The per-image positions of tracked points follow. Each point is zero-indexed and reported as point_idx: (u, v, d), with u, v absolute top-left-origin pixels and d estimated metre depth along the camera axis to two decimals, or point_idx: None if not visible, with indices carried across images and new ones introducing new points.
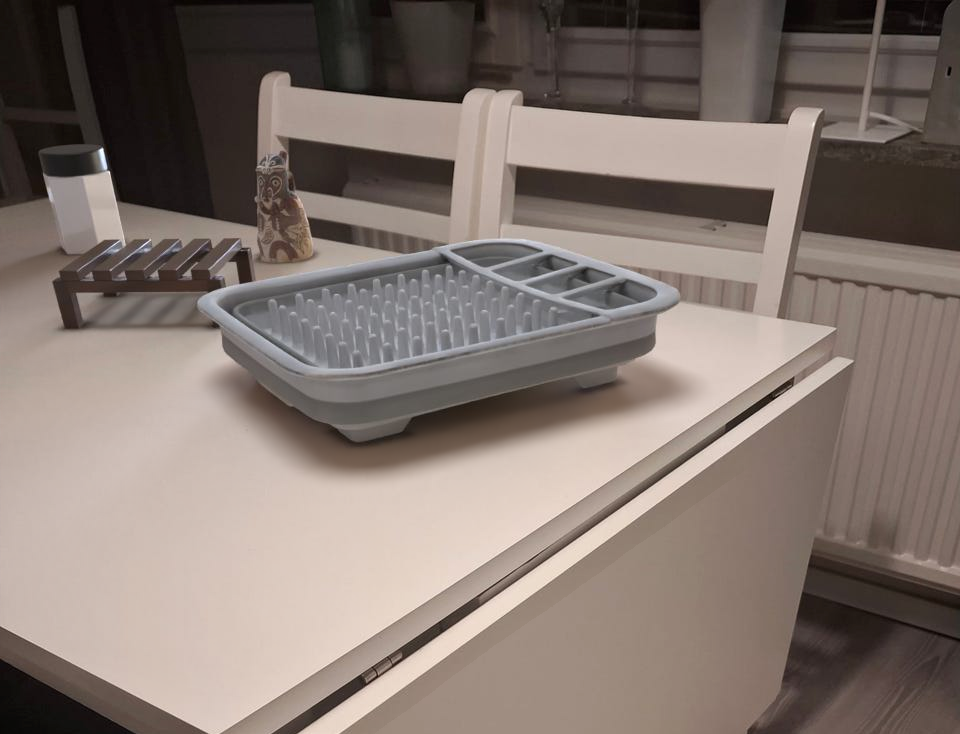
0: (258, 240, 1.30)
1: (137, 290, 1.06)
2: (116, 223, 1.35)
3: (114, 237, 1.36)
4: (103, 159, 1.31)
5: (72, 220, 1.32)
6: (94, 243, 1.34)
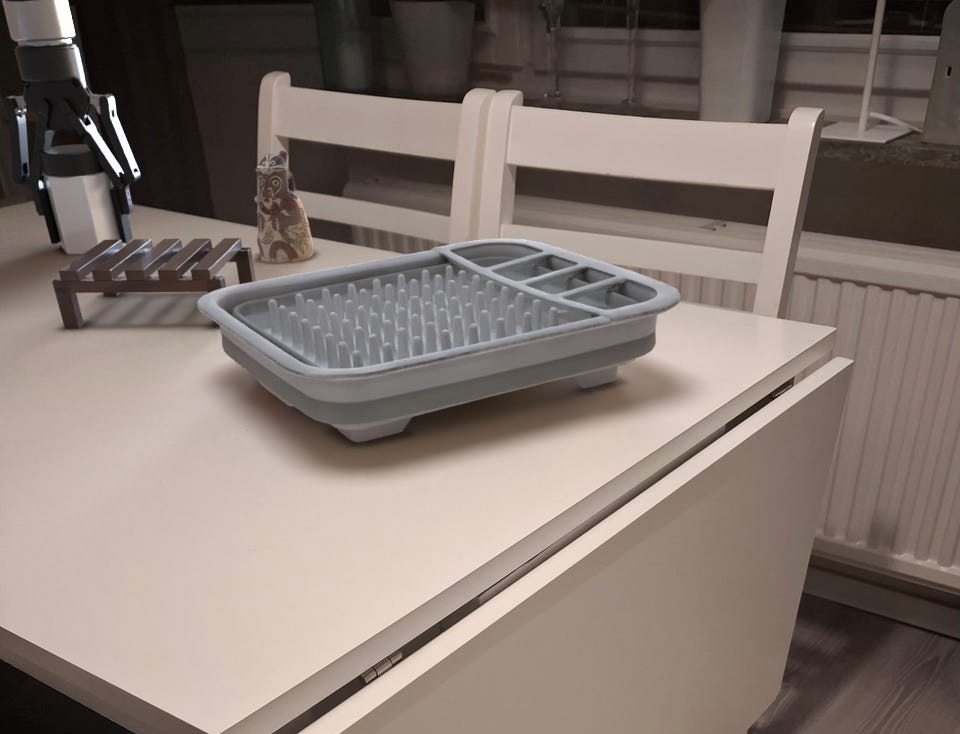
0: (258, 240, 1.30)
1: (137, 290, 1.06)
2: (116, 223, 1.35)
3: (114, 237, 1.36)
4: None
5: (72, 220, 1.32)
6: (94, 243, 1.34)
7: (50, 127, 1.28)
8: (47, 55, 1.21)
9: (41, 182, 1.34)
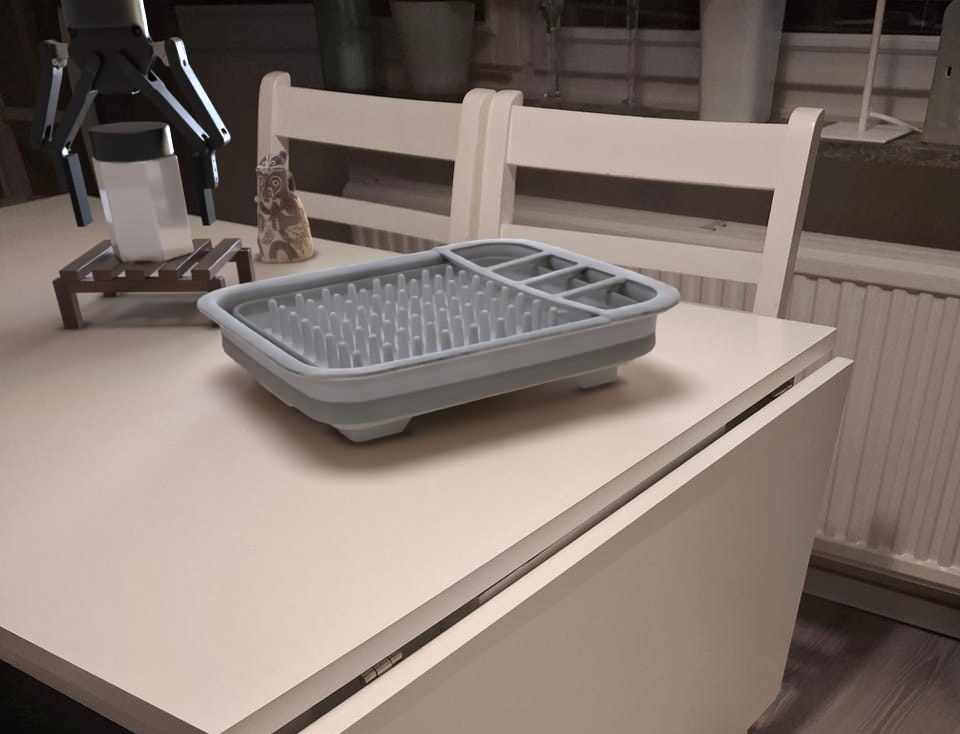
0: (258, 240, 1.30)
1: (137, 290, 1.06)
2: (183, 221, 1.07)
3: (180, 239, 1.08)
4: (169, 140, 1.03)
5: (129, 218, 1.04)
6: (156, 247, 1.06)
7: (95, 88, 1.00)
8: None
9: (65, 149, 1.04)
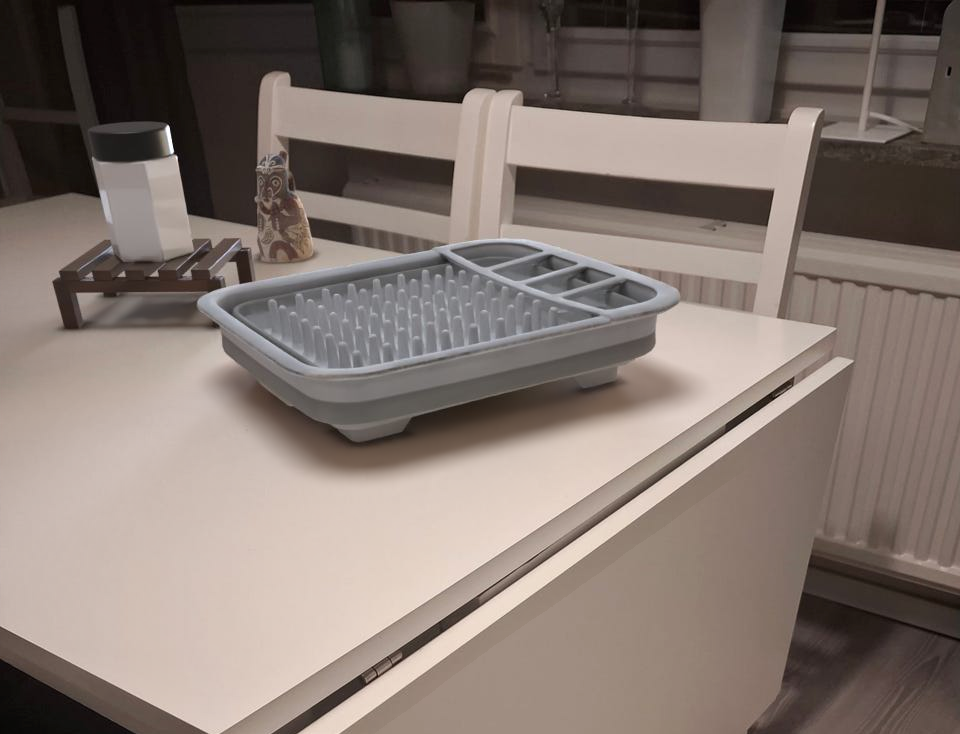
0: (258, 240, 1.30)
1: (137, 290, 1.06)
2: (183, 221, 1.07)
3: (180, 239, 1.08)
4: (169, 140, 1.03)
5: (129, 218, 1.04)
6: (156, 247, 1.06)
7: None
8: None
9: None
